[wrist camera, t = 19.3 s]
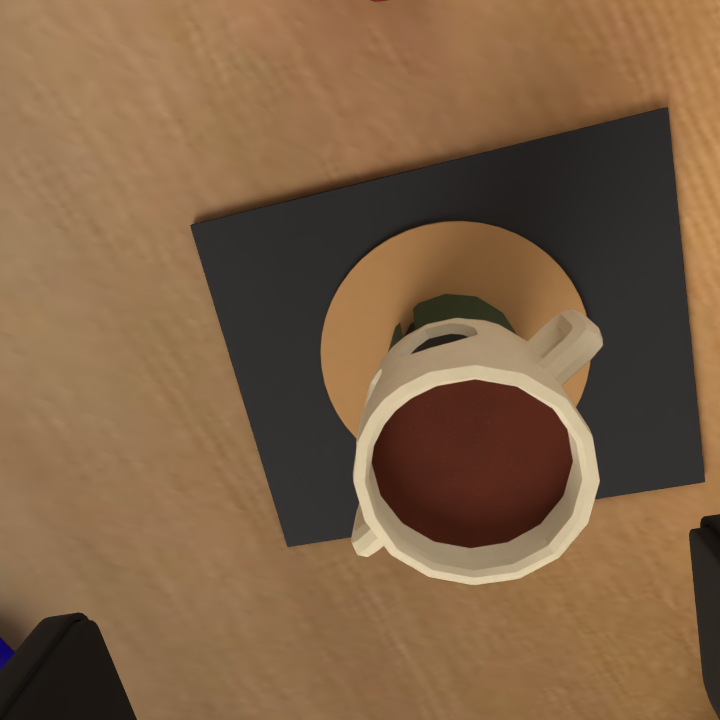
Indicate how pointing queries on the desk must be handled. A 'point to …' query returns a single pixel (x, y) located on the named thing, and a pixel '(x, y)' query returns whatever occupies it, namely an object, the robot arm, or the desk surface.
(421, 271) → the desk mat
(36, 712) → the robot arm
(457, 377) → the character mug
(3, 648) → the cable holder
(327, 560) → the desk surface
